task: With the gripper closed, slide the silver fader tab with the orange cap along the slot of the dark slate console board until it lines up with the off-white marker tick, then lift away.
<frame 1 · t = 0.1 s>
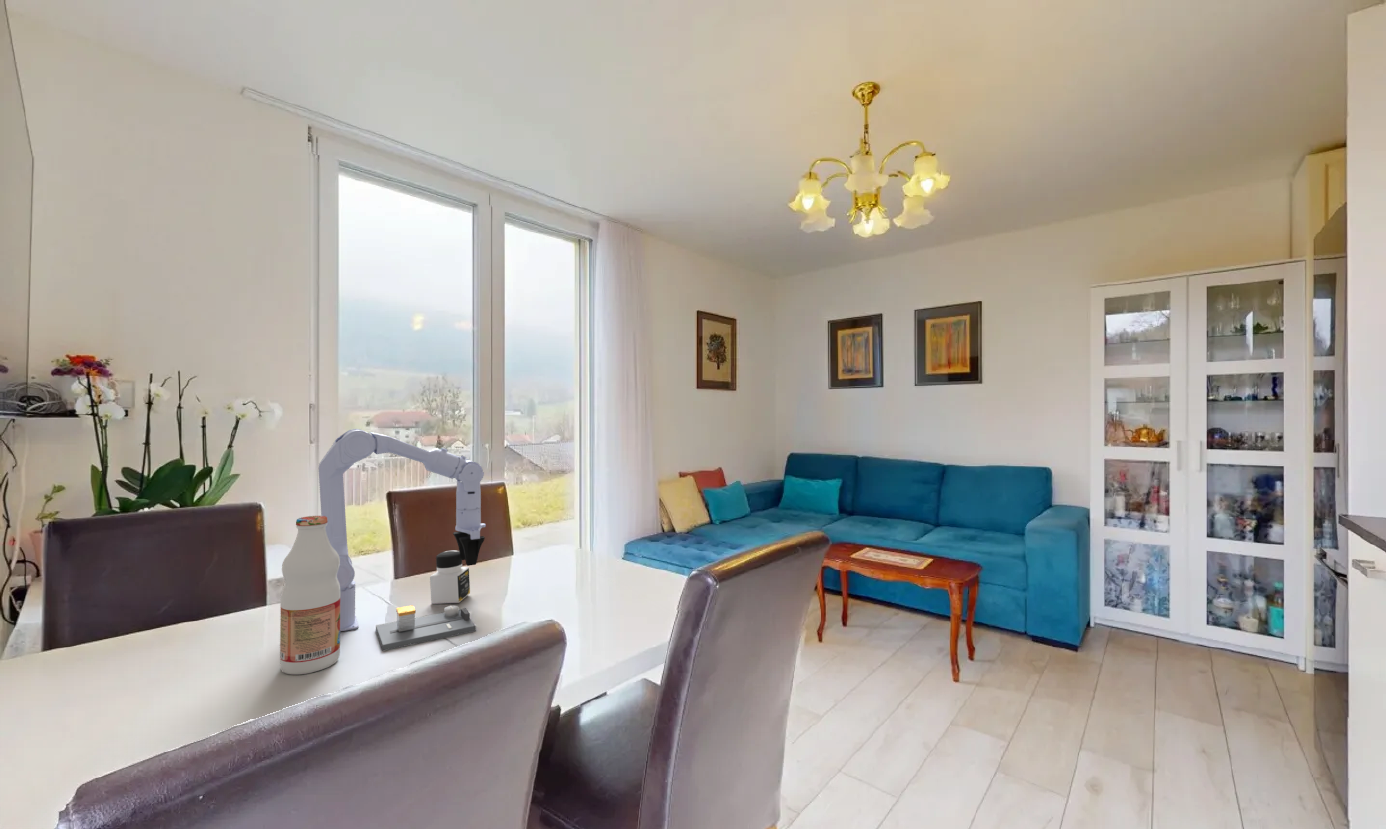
hand: (468, 562, 139), 10 cm above the table, fingers open, 5 cm apart
fader tab: (405, 618, 120), point 4 cm above the table, slide at 0.0 cm
fruit juice: (310, 665, 106), on the table
medicine bottle: (451, 599, 142), on the table, touching gripper
console board: (425, 630, 122), on the table
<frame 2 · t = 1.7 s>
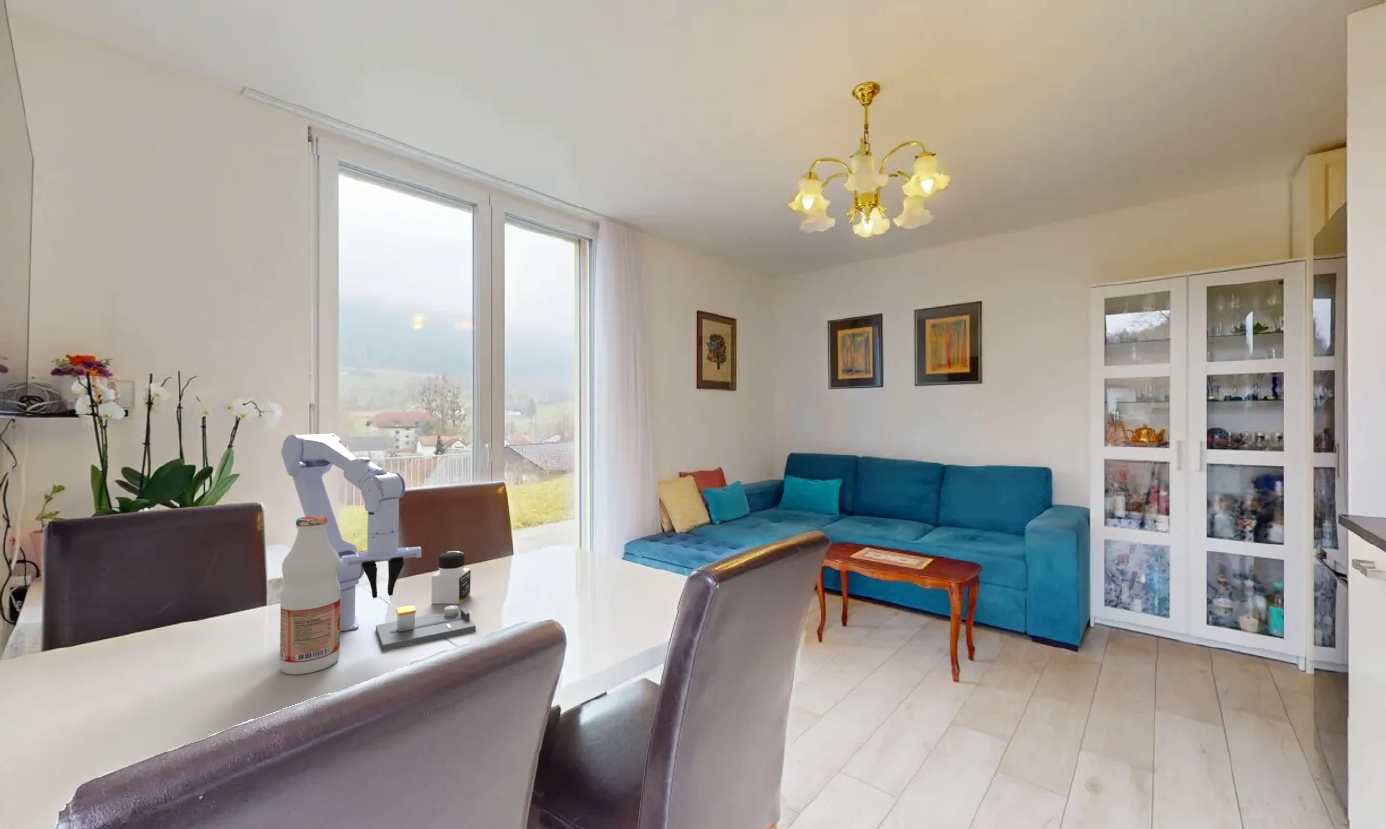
hand: (382, 595, 117), 9 cm above the table, fingers closed
medicine bottle: (451, 600, 142), on the table
everything else where it was.
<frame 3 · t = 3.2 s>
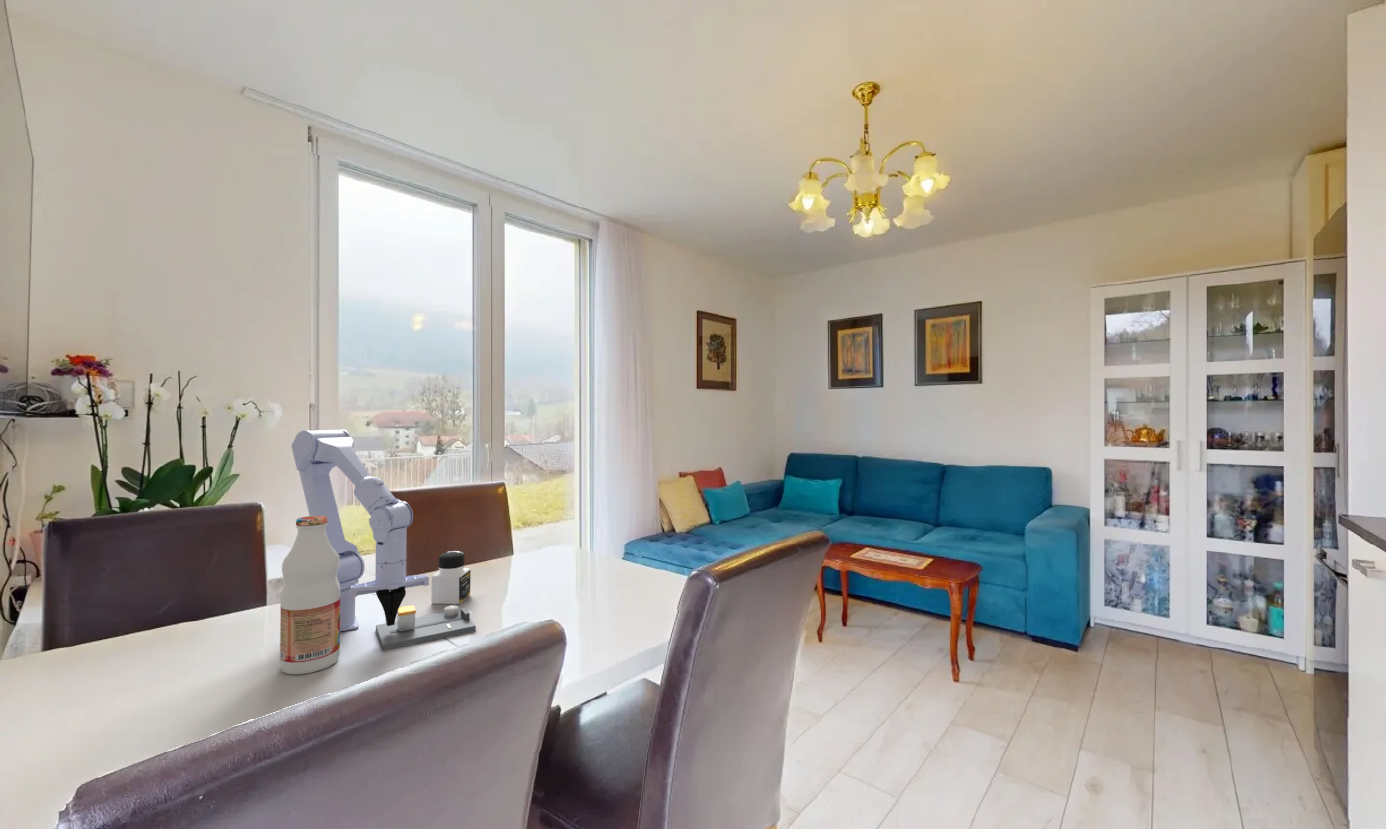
hand: (390, 624, 118), 3 cm above the table, fingers closed
fader tab: (406, 618, 120), point 4 cm above the table, slide at 0.1 cm, touching gripper
everything else where it was.
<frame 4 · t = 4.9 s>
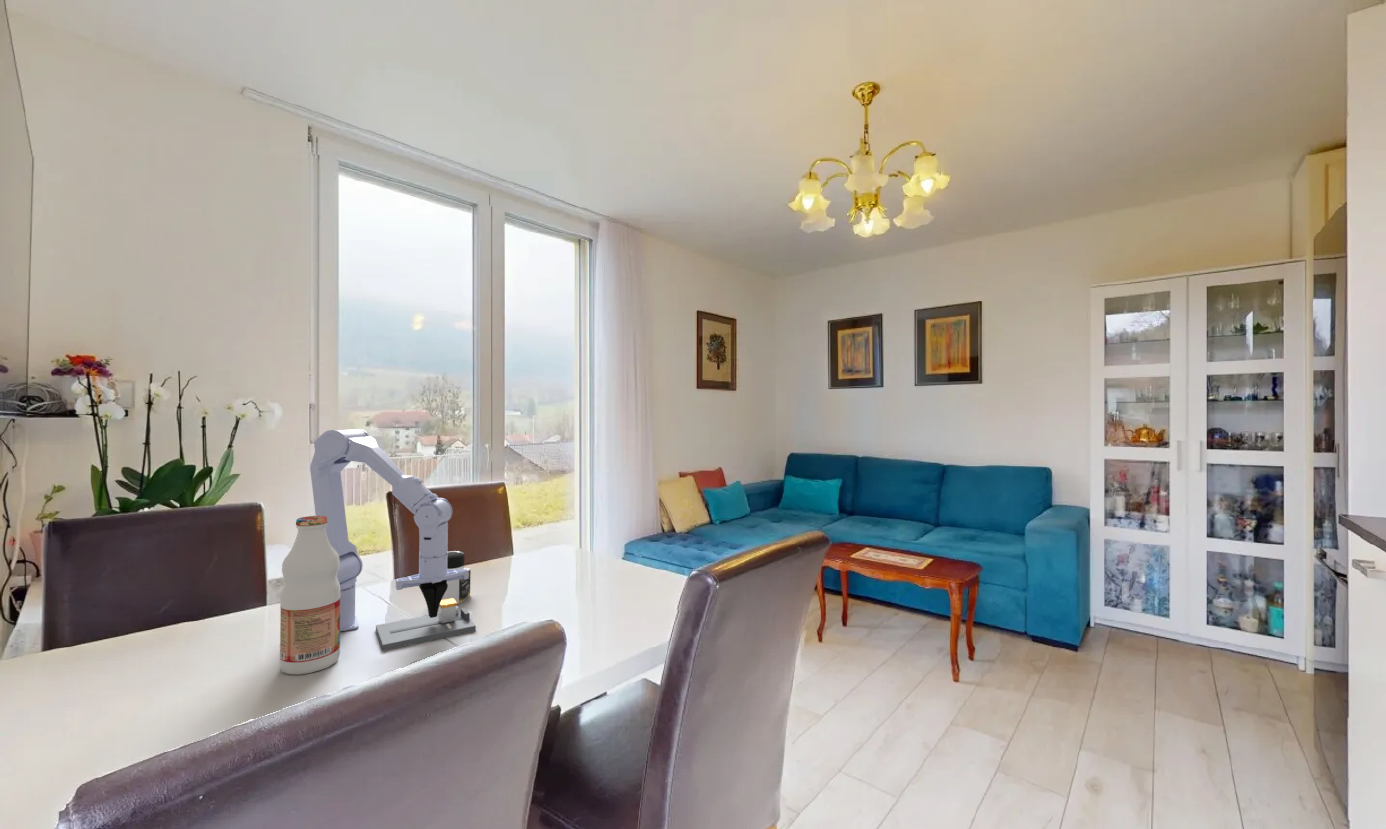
hand: (432, 616, 123), 3 cm above the table, fingers closed
fader tab: (447, 610, 124), point 4 cm above the table, slide at 8.3 cm, touching gripper
everything else where it was.
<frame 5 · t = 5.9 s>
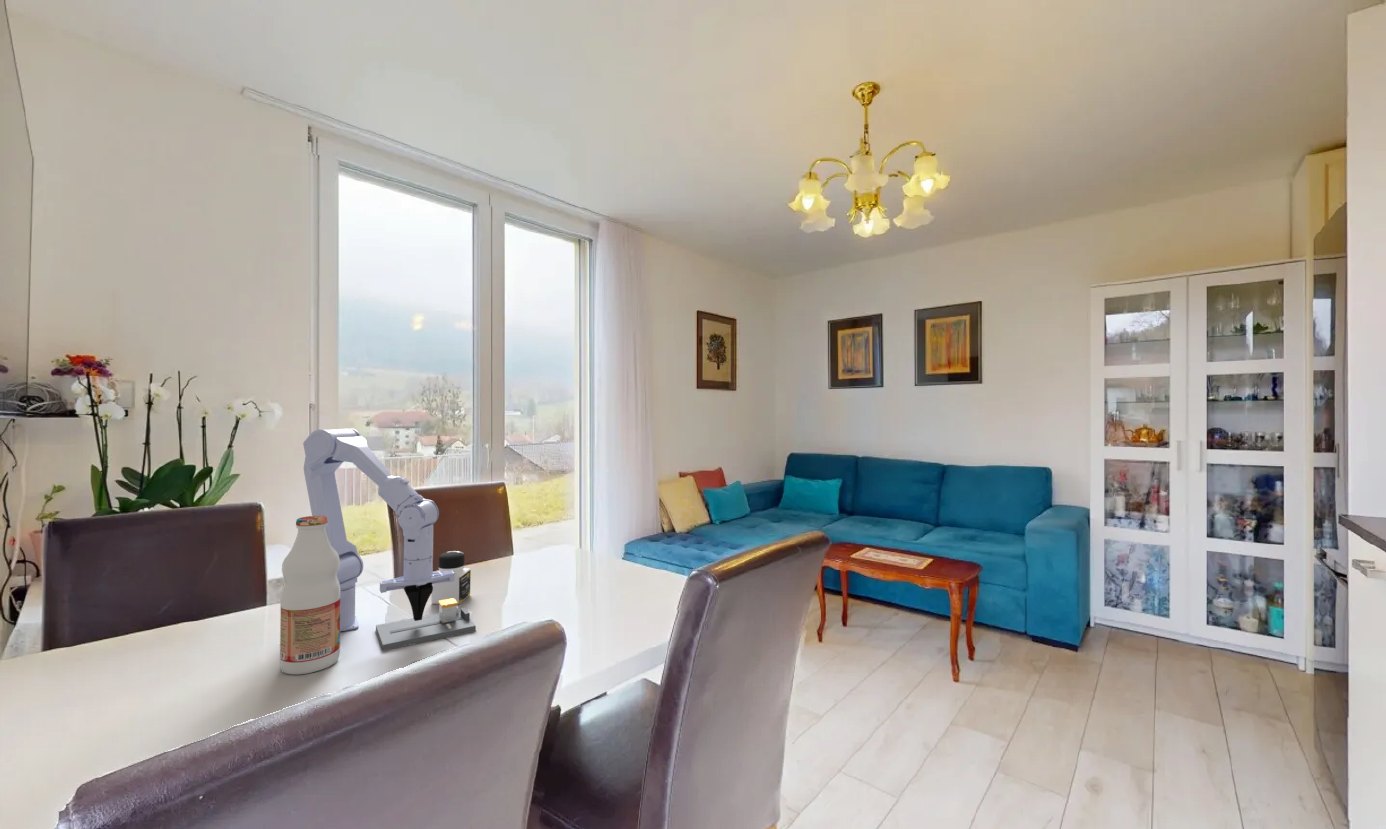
hand: (417, 619, 121), 3 cm above the table, fingers closed
fader tab: (447, 610, 124), point 4 cm above the table, slide at 8.5 cm
everything else where it was.
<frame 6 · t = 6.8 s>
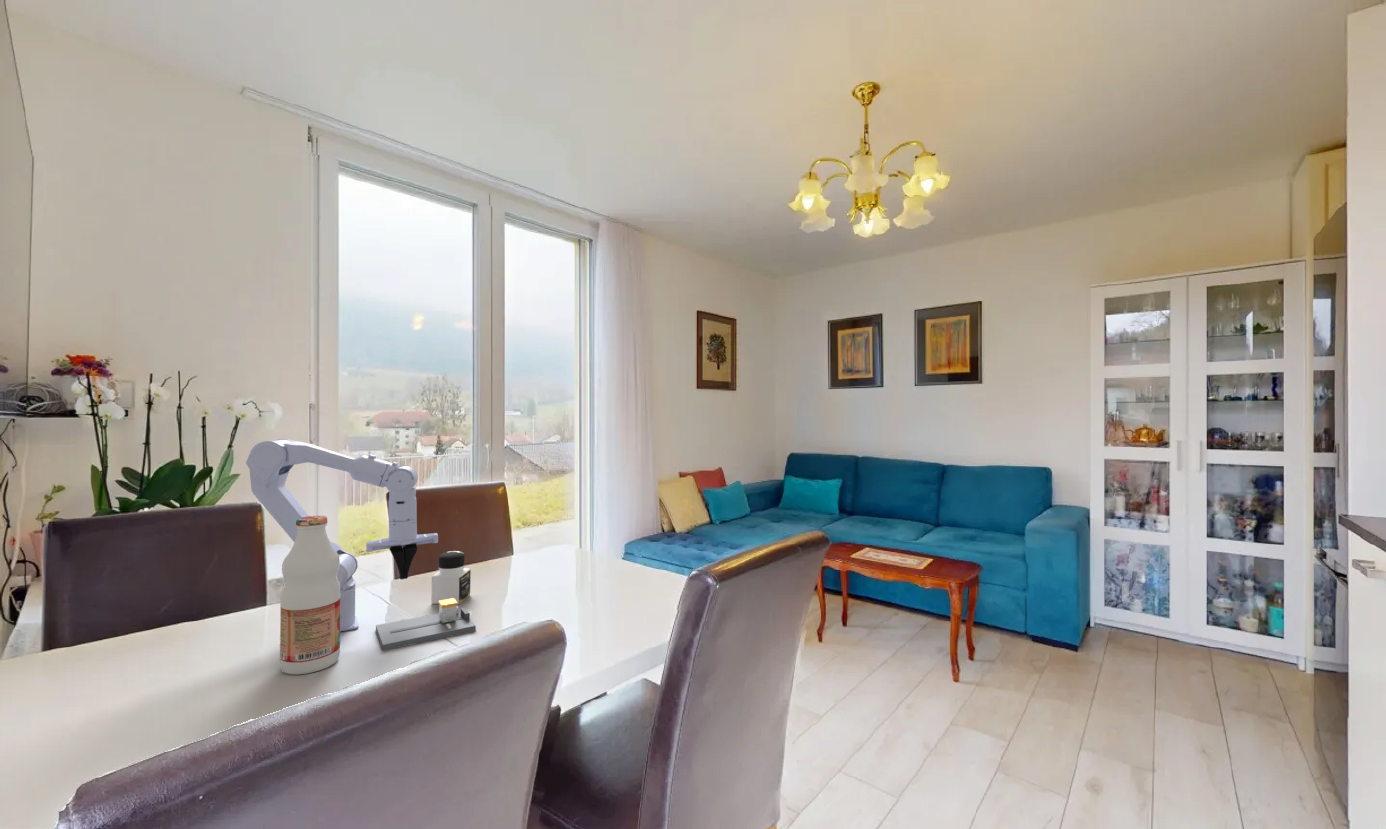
hand: (403, 578, 127), 10 cm above the table, fingers closed
nothing on the table moved.
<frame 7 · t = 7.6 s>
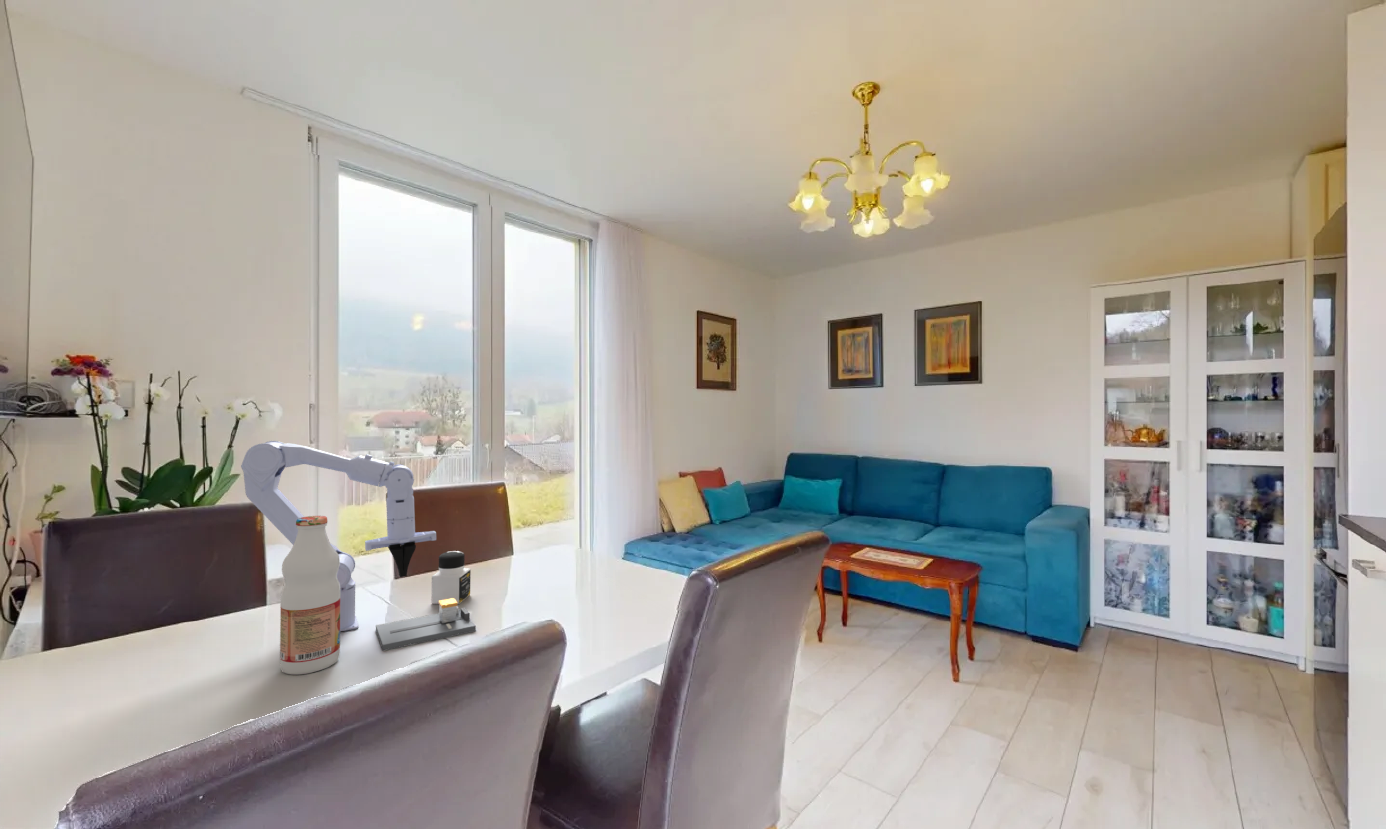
hand: (402, 575, 129), 10 cm above the table, fingers closed
nothing on the table moved.
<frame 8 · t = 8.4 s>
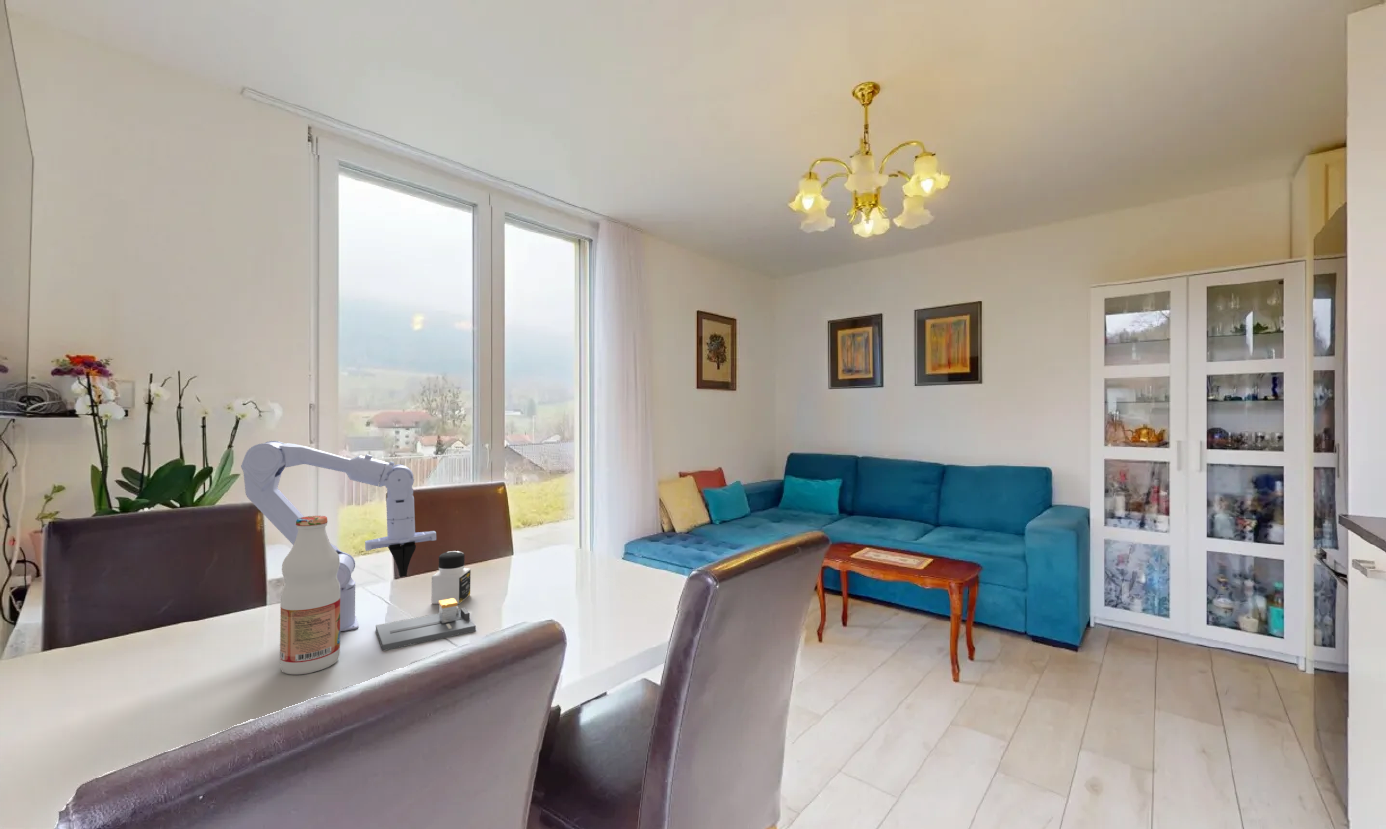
hand: (402, 575, 129), 10 cm above the table, fingers closed
nothing on the table moved.
at the end: fader tab slide at 8.5 cm; fader tab touching nothing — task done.
